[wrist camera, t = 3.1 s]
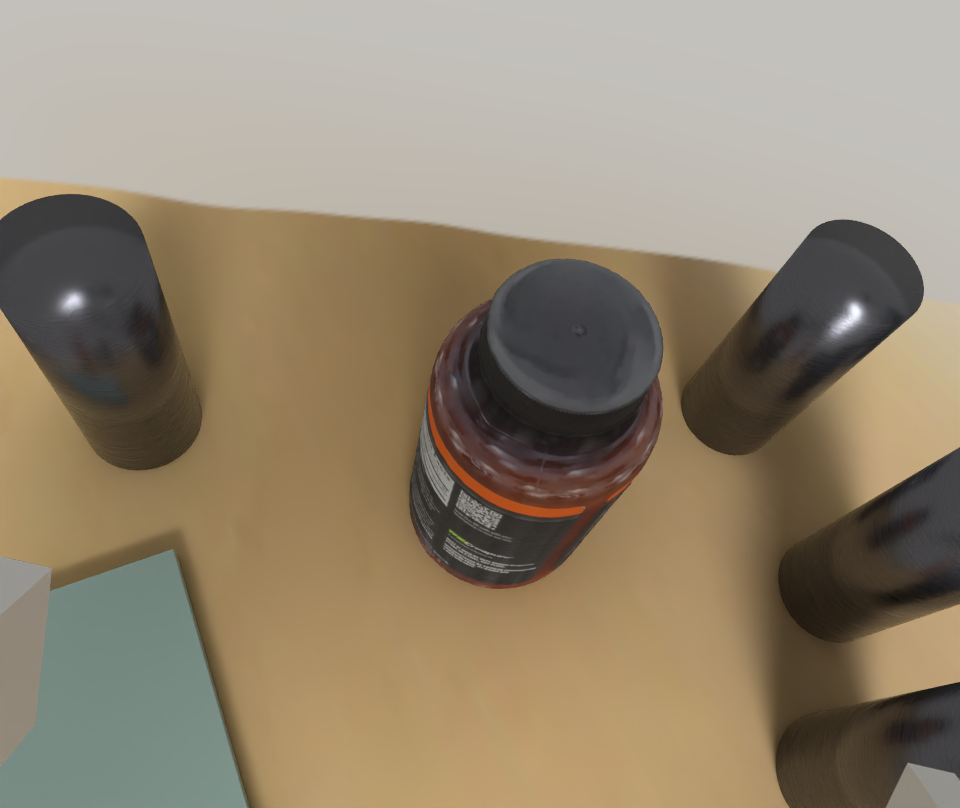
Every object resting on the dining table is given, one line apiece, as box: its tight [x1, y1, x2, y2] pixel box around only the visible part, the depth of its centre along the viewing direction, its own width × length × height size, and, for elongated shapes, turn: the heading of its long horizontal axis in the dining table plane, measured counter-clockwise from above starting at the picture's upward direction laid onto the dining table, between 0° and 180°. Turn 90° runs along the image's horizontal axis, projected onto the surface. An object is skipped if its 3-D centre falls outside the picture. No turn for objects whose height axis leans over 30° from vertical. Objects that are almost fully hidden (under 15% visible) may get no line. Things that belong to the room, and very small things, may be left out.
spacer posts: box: [0, 194, 960, 808], centre depth 23 cm, size 23×22×9 cm
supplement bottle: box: [410, 259, 663, 589], centre depth 22 cm, size 6×6×11 cm
